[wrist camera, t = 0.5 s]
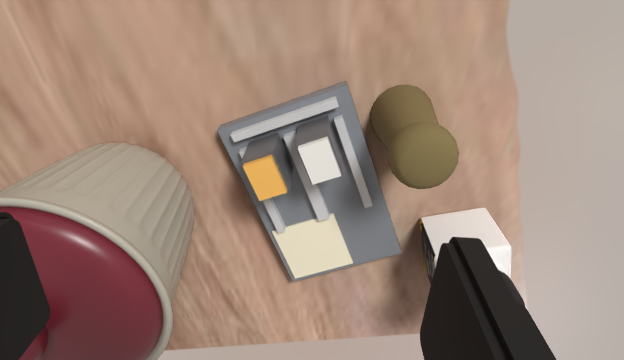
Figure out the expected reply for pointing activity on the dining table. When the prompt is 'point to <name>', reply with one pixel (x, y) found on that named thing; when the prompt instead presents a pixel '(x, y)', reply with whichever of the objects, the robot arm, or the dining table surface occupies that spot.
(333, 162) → the toggle plain
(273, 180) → the block
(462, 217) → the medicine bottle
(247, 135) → the panel
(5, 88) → the dining table surface
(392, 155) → the cork
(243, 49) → the dining table surface
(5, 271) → the robot arm
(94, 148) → the canister
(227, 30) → the dining table surface
